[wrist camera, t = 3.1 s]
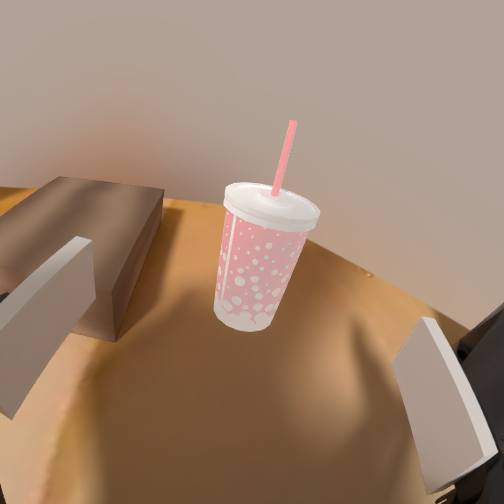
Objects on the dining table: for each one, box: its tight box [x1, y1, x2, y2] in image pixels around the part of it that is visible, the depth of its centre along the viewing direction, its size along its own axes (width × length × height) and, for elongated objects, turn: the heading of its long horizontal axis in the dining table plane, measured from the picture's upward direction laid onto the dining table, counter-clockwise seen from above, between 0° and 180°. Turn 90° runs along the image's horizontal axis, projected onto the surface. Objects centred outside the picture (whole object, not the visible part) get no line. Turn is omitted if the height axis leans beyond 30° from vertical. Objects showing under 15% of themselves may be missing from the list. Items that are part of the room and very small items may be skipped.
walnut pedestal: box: [0, 177, 164, 342], centre depth 22 cm, size 13×18×4 cm
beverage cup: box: [214, 120, 321, 332], centre depth 19 cm, size 6×6×14 cm
